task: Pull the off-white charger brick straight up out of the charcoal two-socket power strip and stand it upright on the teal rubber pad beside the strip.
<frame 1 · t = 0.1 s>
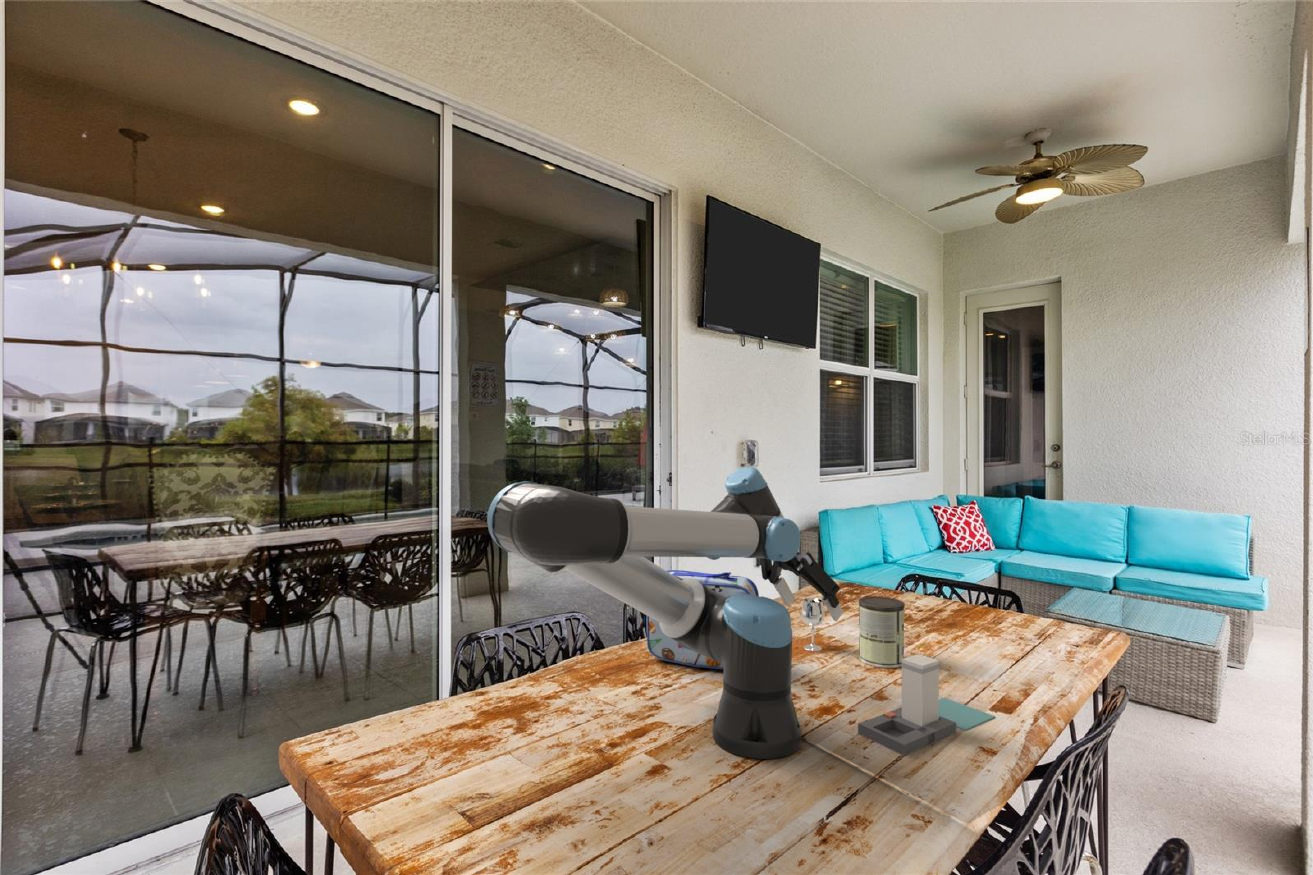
hand: (813, 609, 133), 15 cm above the table, tool tilted 35°, fingers open, 13 cm apart
lunch box: (704, 664, 142), on the table
coffee can: (881, 661, 145), on the table
charger: (920, 727, 109), point 1 cm above the table, touching power strip
power strip: (907, 737, 107), on the table
pad: (954, 718, 115), on the table
wineglass: (812, 648, 154), on the table
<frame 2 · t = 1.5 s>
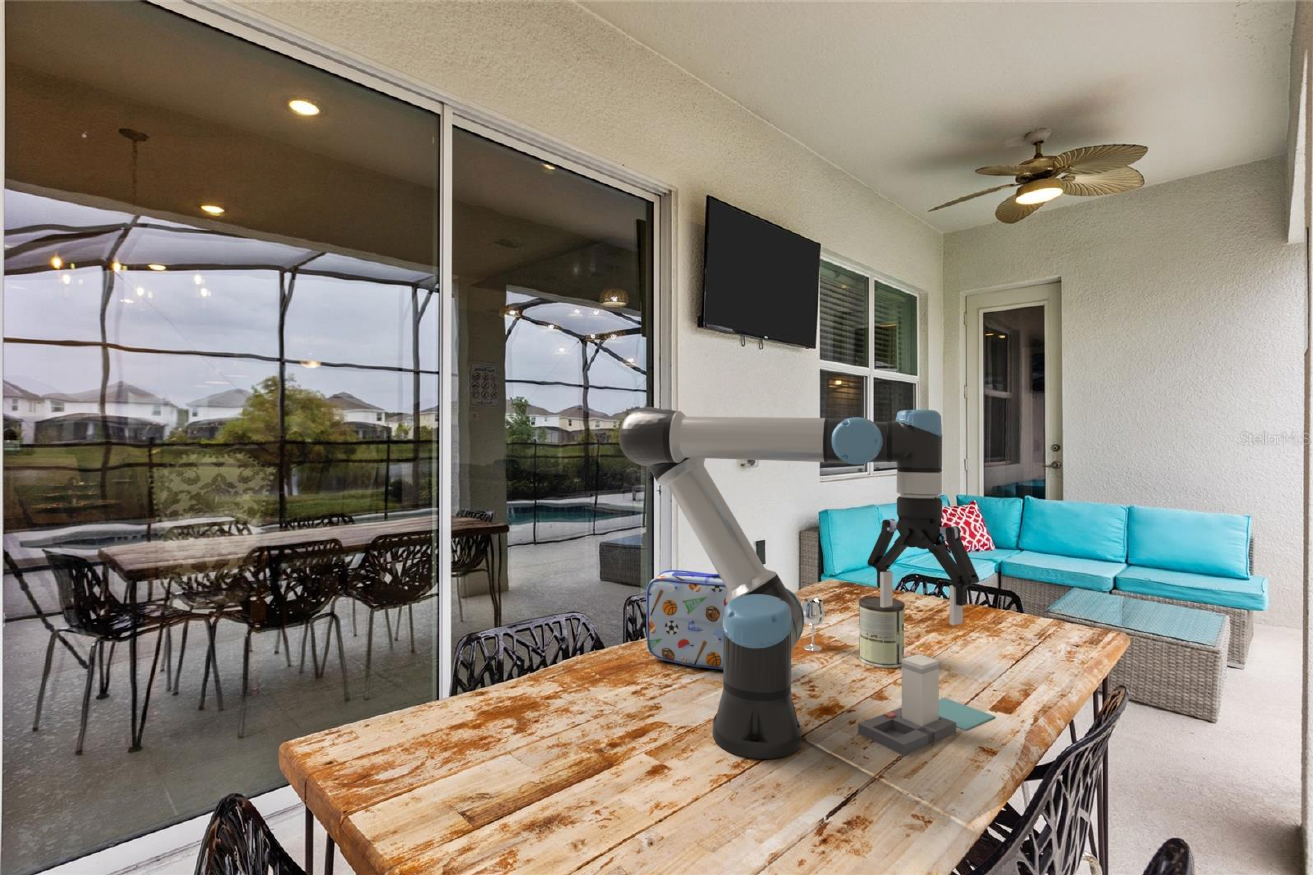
hand: (919, 614, 109), 21 cm above the table, tool pointing down, fingers open, 13 cm apart
nothing on the table moved.
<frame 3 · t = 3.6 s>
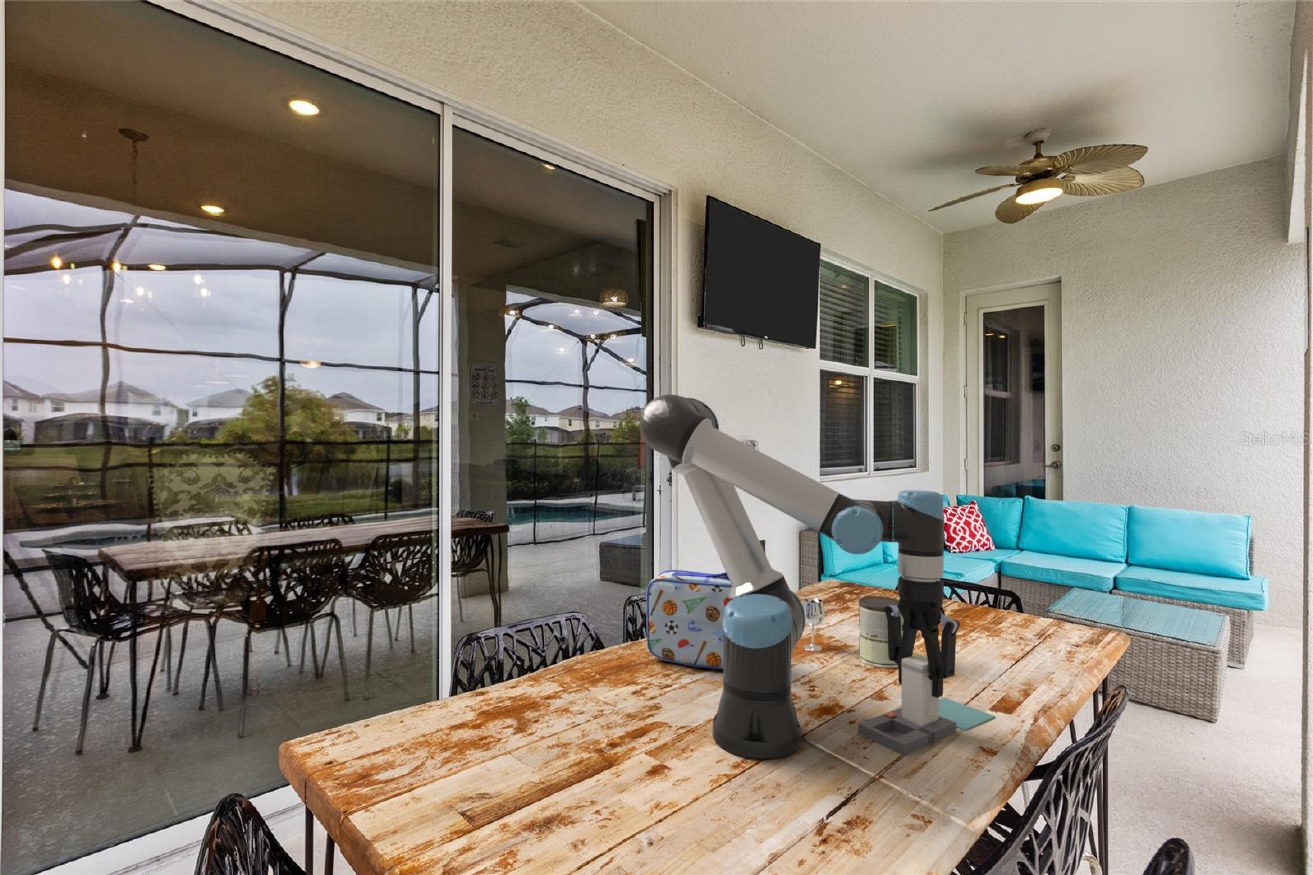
hand: (920, 708, 109), 4 cm above the table, tool pointing down, fingers closed on charger, 4 cm apart
charger: (920, 727, 109), point 1 cm above the table, touching gripper, power strip
everything else where it was.
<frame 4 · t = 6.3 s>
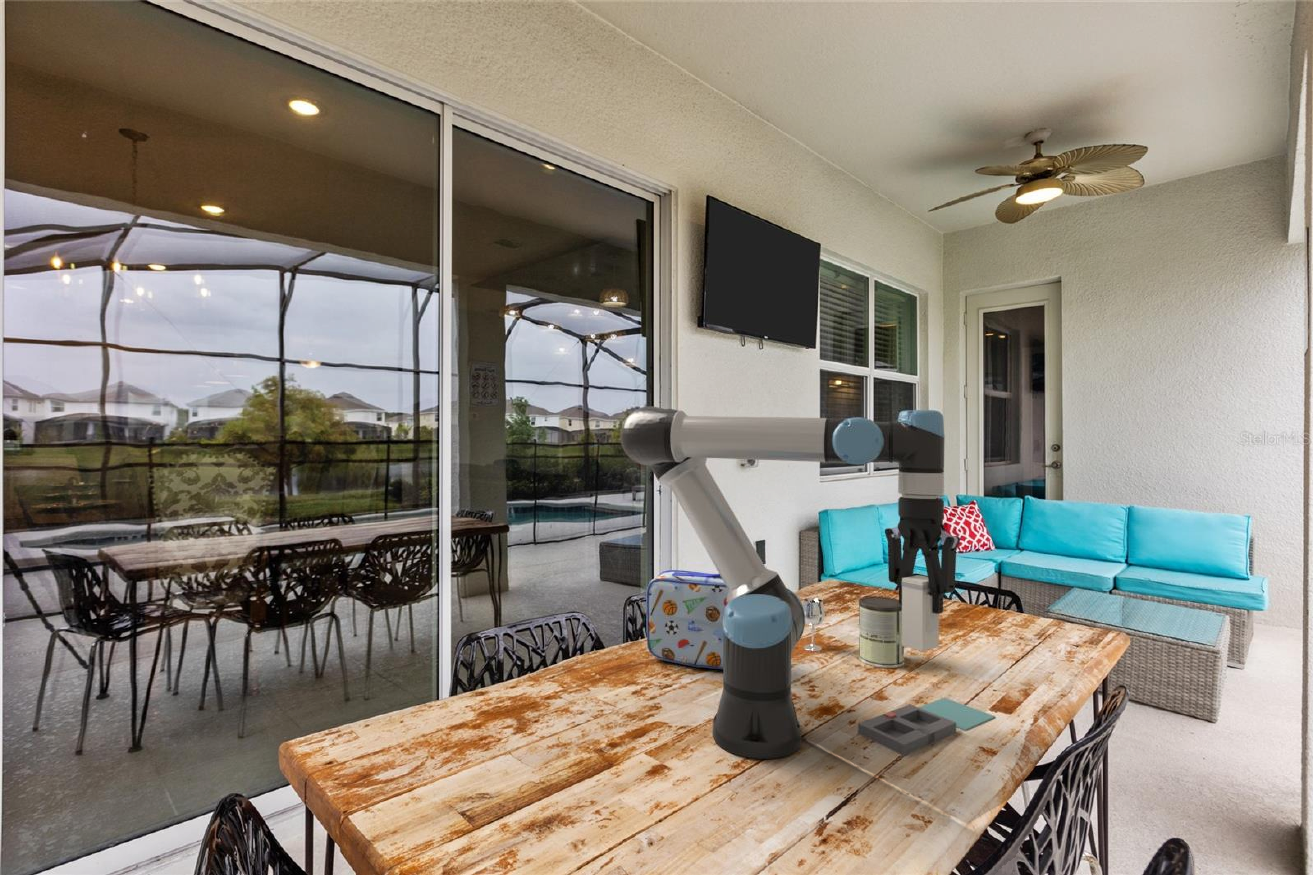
hand: (920, 627, 109), 19 cm above the table, tool pointing down, fingers closed on charger, 4 cm apart
charger: (920, 646, 109), point 15 cm above the table, touching gripper
everything else where it was.
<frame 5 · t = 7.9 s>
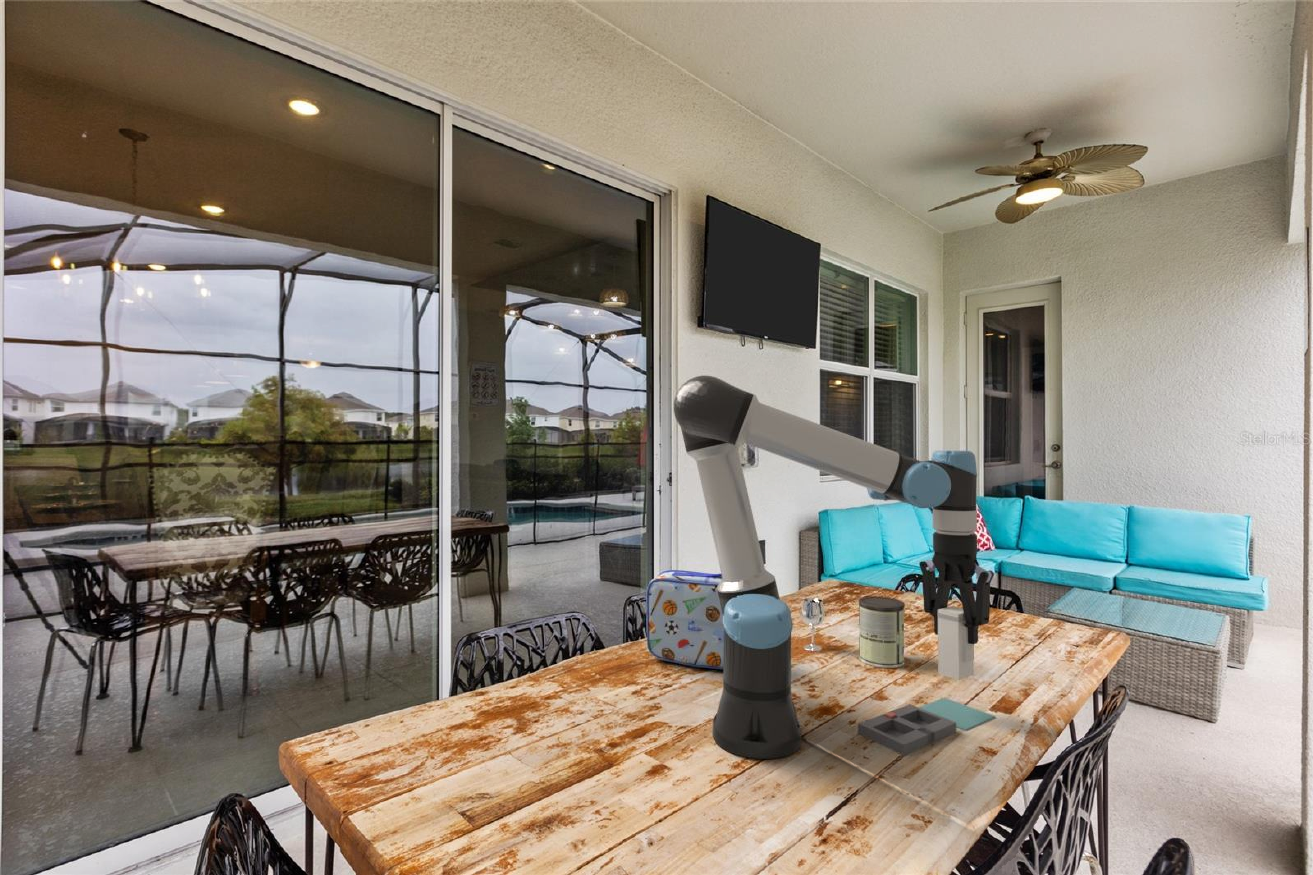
hand: (955, 656, 115), 12 cm above the table, tool pointing down, fingers closed on charger, 4 cm apart
charger: (956, 674, 115), point 8 cm above the table, touching gripper
everything else where it was.
when the fingers open (5 cm above the table, at t = 9.1 s): charger stays where it is, resting on pad.
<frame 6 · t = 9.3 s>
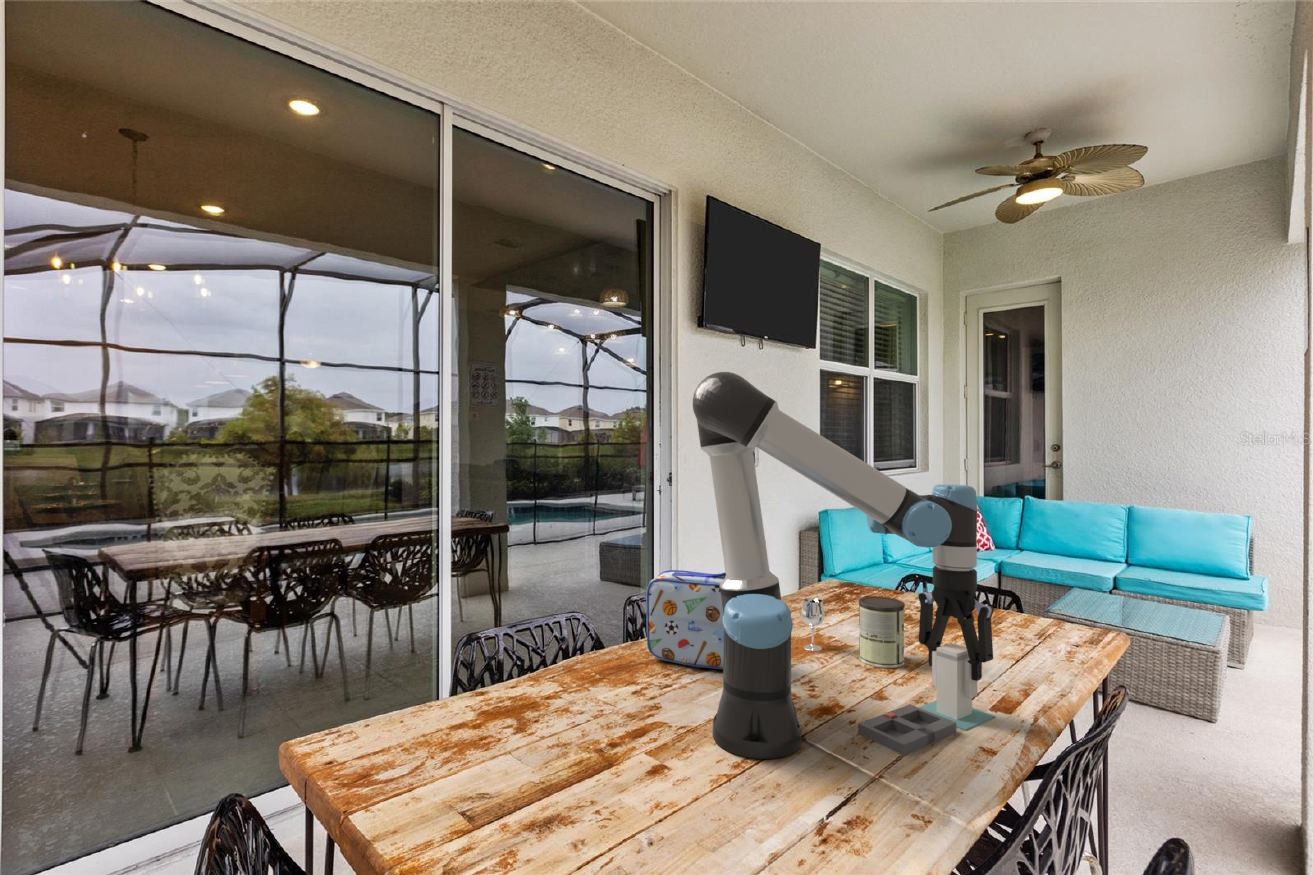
hand: (954, 690, 115), 5 cm above the table, tool pointing down, fingers open, 6 cm apart
charger: (954, 712, 115), point 1 cm above the table, touching pad
everything else where it was.
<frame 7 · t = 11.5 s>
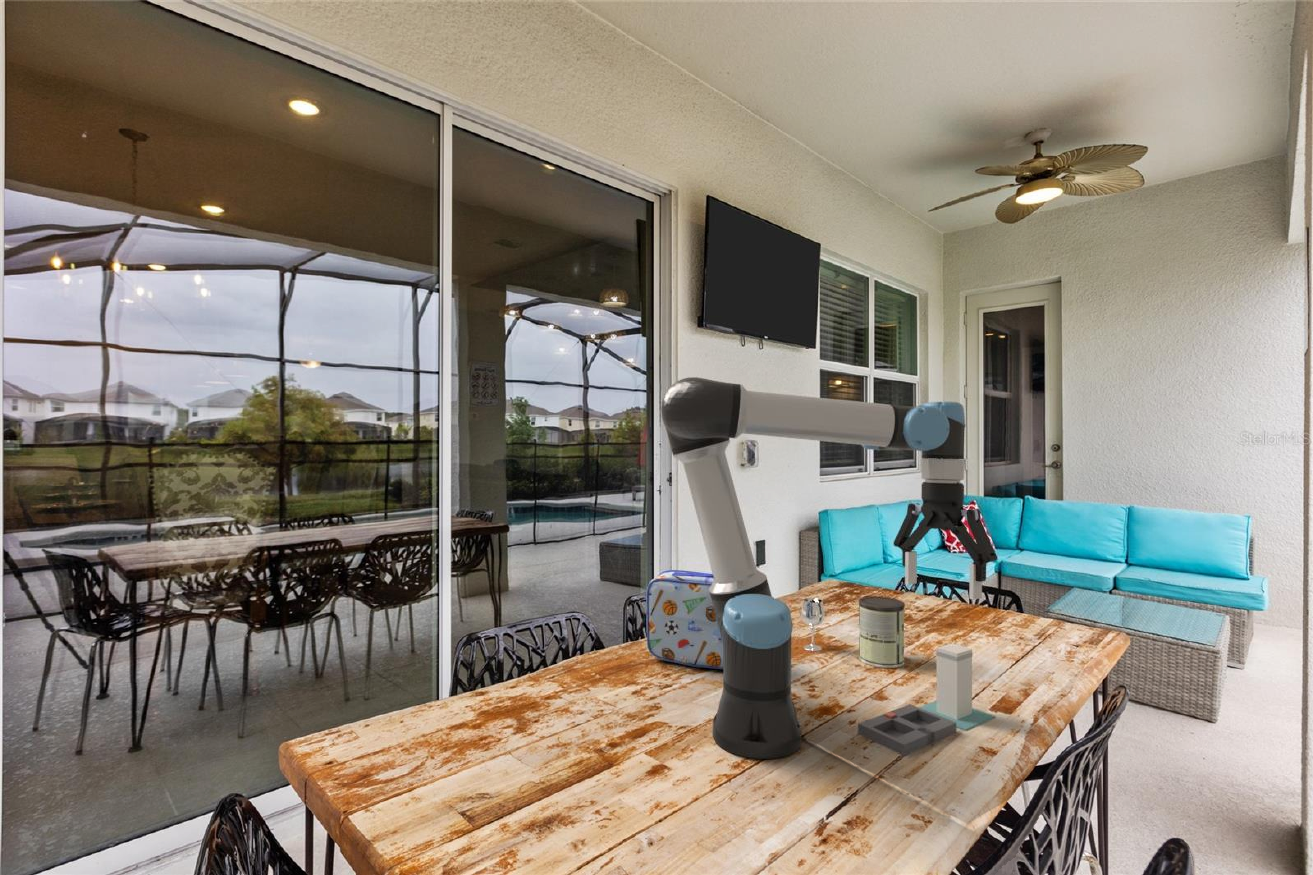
hand: (941, 591, 118), 23 cm above the table, tool pointing down, fingers open, 13 cm apart
nothing on the table moved.
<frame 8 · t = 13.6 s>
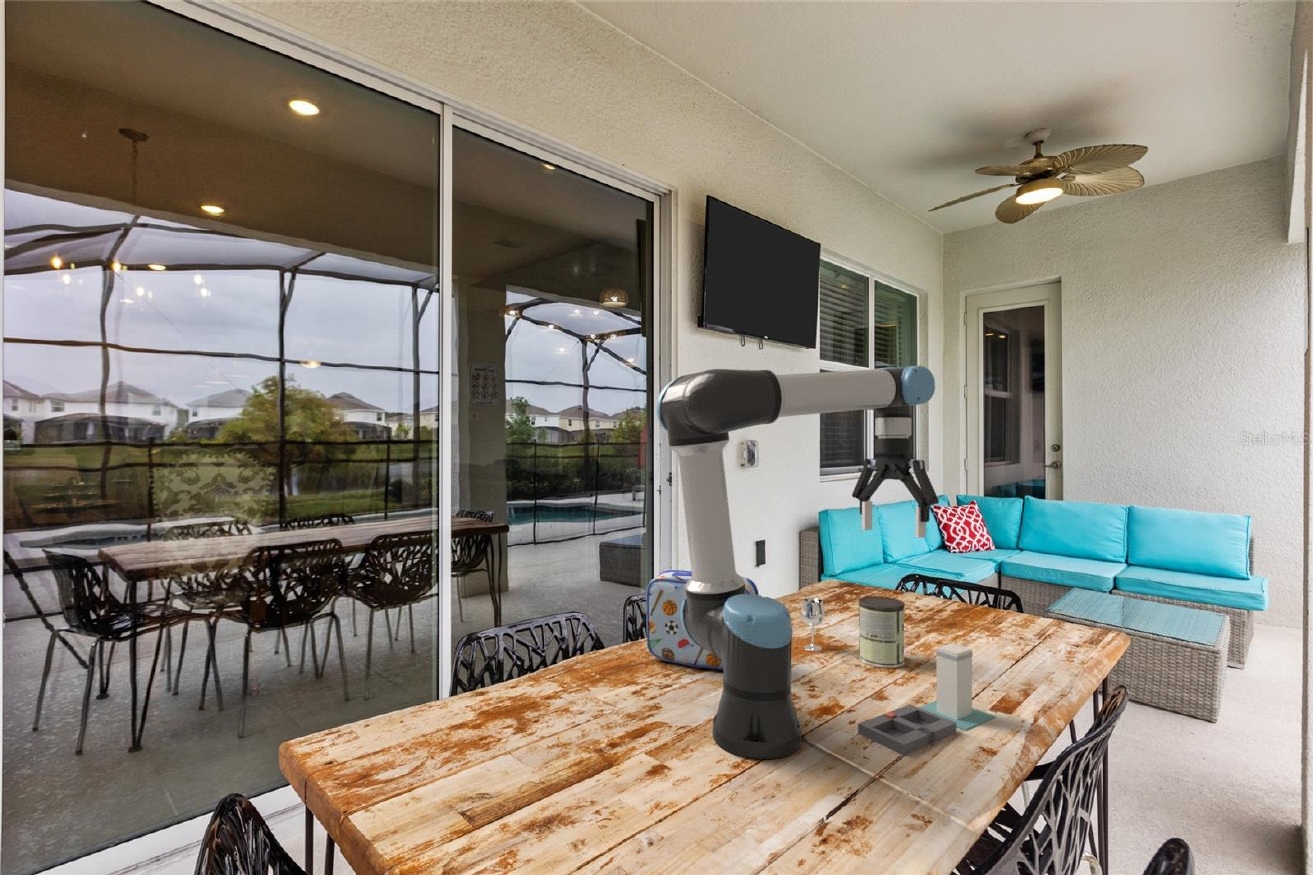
hand: (892, 533, 135), 32 cm above the table, tool pointing down, fingers open, 13 cm apart
nothing on the table moved.
at the end: charger inside the target area on the pad (0.0 cm from its centre), point 1.0 cm above the pad's base; charger tilted 0°; the gripper is holding nothing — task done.
